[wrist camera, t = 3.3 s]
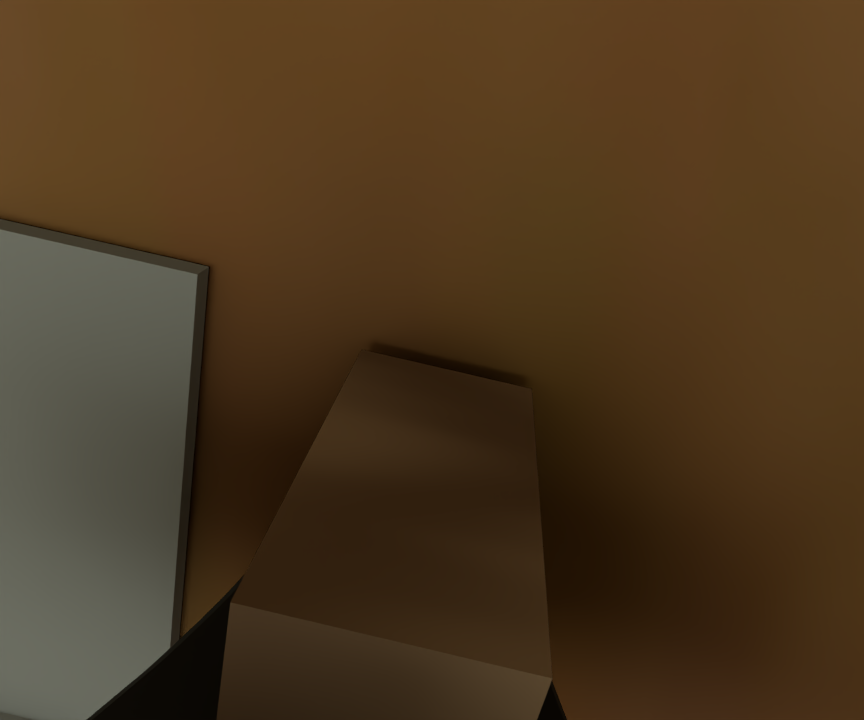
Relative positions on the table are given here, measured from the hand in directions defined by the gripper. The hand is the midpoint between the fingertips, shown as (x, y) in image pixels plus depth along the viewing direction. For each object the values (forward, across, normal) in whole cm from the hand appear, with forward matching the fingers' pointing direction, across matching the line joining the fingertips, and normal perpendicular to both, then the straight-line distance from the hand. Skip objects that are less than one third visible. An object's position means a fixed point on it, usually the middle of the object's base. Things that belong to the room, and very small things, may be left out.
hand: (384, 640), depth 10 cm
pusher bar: (+2, 0, 0) cm, 2 cm away
